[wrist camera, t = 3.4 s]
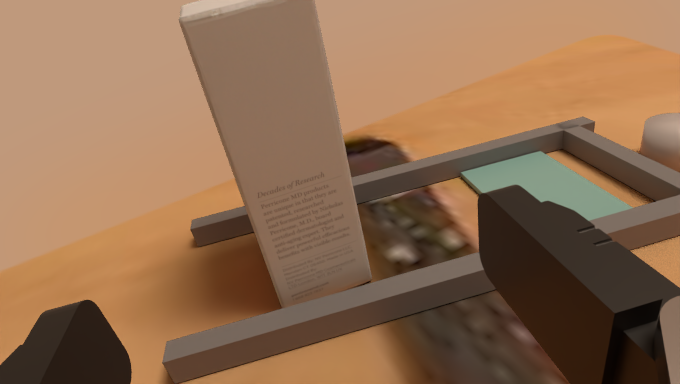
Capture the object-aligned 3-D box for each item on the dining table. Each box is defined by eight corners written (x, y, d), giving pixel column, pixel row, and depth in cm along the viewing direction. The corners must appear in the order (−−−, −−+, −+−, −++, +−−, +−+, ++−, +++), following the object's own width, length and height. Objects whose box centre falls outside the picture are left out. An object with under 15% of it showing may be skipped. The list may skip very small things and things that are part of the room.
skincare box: (261, 242, 23) (178, 4, 17) (335, 217, 24) (280, -19, 18) (282, 319, 18) (172, 14, 12) (376, 283, 18) (317, -19, 13)
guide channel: (174, 383, 16) (153, 347, 15) (199, 236, 24) (187, 208, 24) (809, 196, 18) (826, 154, 17) (625, 122, 27) (629, 92, 26)
